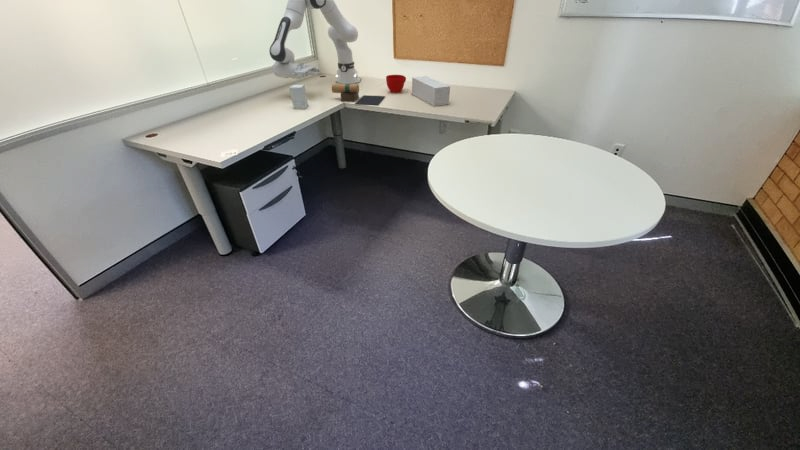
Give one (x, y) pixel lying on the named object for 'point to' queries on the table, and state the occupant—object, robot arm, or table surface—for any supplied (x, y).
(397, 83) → the ceramic cup
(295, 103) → the white packaging box
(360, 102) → the mat
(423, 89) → the long light grey block
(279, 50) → the robot arm
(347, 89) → the paper roll
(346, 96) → the cradle
